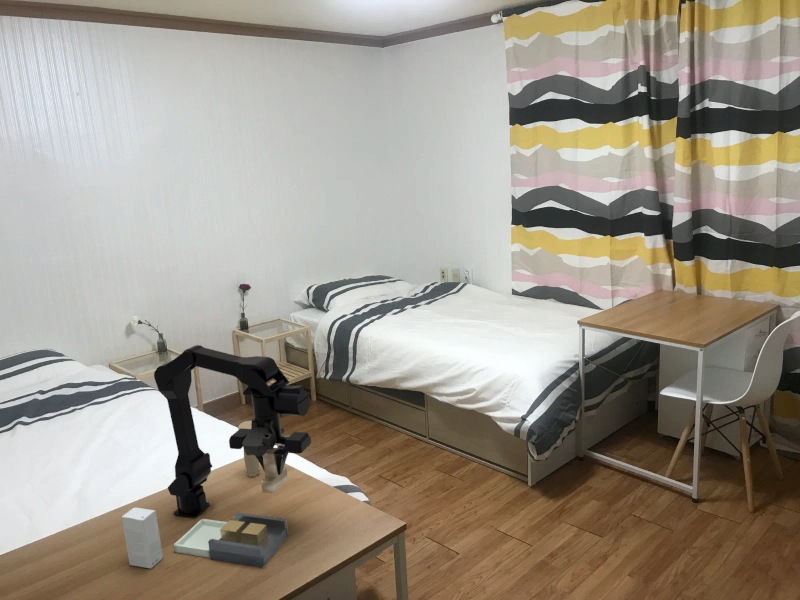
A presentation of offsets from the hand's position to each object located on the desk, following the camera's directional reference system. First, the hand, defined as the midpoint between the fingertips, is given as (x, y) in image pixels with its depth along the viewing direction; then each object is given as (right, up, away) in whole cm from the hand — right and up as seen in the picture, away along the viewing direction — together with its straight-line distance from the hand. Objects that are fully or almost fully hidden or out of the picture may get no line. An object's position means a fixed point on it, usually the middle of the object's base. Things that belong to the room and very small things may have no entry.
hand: (273, 473), depth 150 cm
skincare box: (-27, -17, -9) cm, 33 cm away
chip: (-3, -13, -7) cm, 15 cm away
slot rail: (-4, -15, -6) cm, 17 cm away
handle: (-11, -8, +28) cm, 32 cm away
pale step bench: (0, -3, +1) cm, 3 cm away
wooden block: (-8, -13, -5) cm, 16 cm away
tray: (-15, -15, -2) cm, 22 cm away
